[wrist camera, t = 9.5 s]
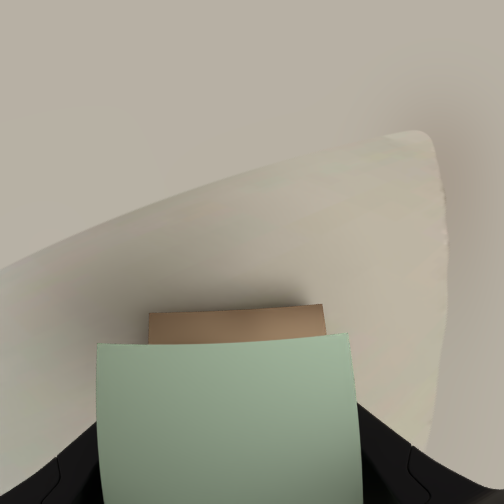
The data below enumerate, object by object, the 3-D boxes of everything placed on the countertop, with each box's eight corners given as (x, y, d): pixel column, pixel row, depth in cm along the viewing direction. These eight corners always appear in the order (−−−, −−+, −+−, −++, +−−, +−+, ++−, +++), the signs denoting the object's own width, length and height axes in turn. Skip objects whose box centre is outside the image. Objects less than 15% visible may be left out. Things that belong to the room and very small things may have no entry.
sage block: (294, 469, 12) (362, 554, 4) (192, 474, 12) (115, 560, 3) (287, 375, 15) (347, 332, 6) (186, 380, 15) (97, 343, 6)
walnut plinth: (330, 466, 18) (339, 473, 16) (163, 475, 18) (153, 482, 15) (315, 313, 24) (322, 303, 21) (158, 322, 23) (149, 312, 21)
